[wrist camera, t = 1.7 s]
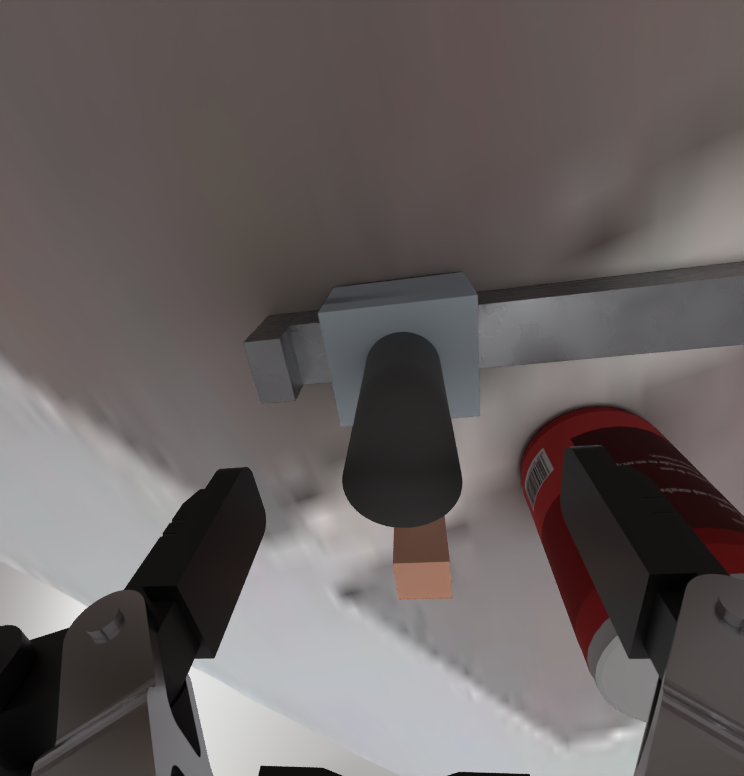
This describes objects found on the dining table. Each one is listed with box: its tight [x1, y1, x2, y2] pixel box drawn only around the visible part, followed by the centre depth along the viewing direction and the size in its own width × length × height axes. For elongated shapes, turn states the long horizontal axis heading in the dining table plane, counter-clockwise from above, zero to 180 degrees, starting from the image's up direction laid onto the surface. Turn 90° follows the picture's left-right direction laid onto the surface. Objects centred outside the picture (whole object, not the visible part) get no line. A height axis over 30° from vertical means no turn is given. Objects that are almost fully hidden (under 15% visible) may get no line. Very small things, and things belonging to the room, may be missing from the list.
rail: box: [243, 262, 744, 404], centre depth 18 cm, size 3×30×4 cm, turn 98°
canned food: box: [521, 407, 744, 722], centre depth 18 cm, size 8×8×11 cm
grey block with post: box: [318, 272, 480, 600], centre depth 17 cm, size 13×6×11 cm, turn 8°
